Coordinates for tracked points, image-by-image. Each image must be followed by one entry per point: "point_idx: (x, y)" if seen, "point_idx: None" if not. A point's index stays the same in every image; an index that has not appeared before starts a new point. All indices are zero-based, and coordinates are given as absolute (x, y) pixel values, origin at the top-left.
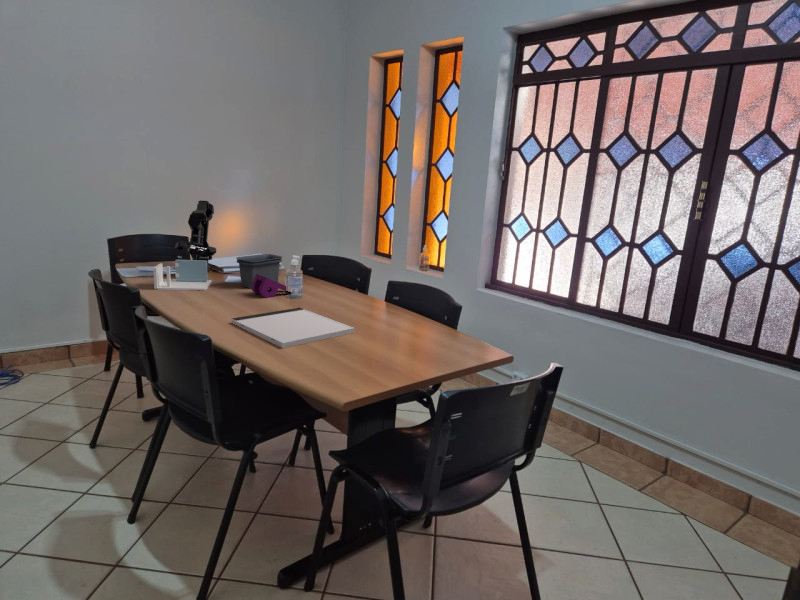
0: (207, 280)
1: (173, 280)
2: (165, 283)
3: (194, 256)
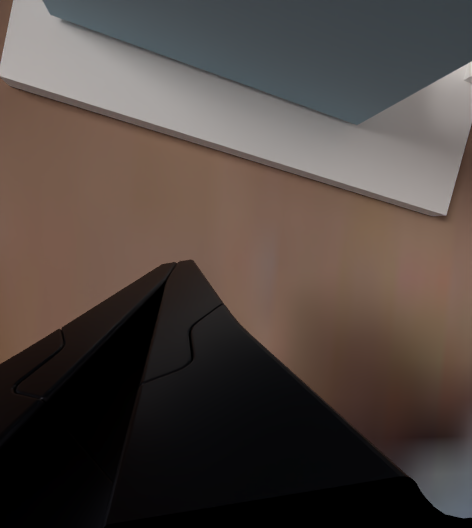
0: (50, 66)
1: (382, 135)
2: None
3: (204, 310)
